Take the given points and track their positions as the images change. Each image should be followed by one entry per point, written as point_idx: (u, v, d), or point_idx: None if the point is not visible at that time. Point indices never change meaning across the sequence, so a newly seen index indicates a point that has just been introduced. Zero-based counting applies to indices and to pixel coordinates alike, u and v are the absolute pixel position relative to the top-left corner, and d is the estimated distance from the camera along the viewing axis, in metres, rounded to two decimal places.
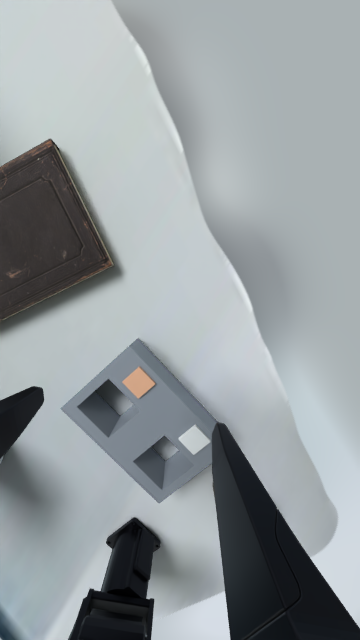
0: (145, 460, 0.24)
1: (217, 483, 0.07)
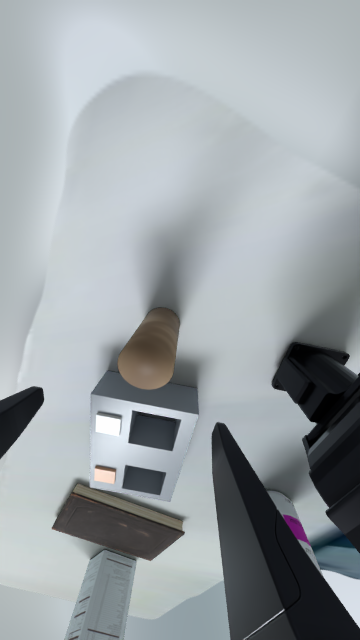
0: (176, 429, 0.22)
1: (217, 483, 0.07)
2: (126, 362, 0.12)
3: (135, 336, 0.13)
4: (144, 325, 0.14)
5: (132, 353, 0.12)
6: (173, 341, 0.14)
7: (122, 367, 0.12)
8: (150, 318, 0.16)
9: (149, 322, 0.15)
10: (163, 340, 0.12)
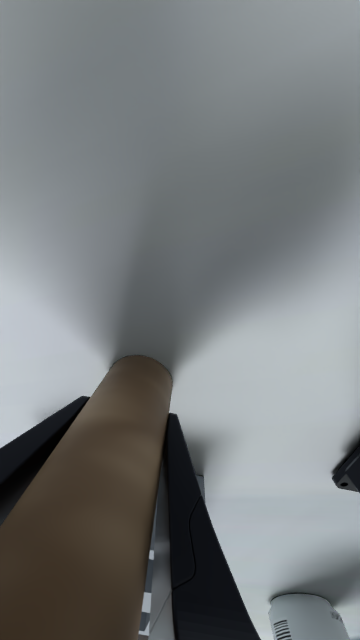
0: None
1: None
2: None
3: (7, 534, 0.04)
4: (71, 442, 0.05)
5: None
6: (144, 503, 0.05)
7: None
8: (100, 402, 0.07)
9: (88, 426, 0.06)
10: (98, 566, 0.03)
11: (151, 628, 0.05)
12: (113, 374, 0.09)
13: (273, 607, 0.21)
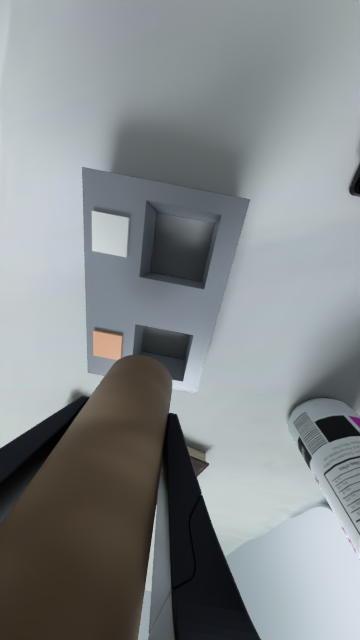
0: (208, 265, 0.15)
1: None
2: None
3: (6, 533, 0.04)
4: (71, 442, 0.05)
5: None
6: (144, 502, 0.05)
7: None
8: (100, 401, 0.07)
9: (88, 425, 0.06)
10: (97, 565, 0.03)
11: (151, 628, 0.05)
12: (113, 373, 0.09)
13: (292, 413, 0.23)
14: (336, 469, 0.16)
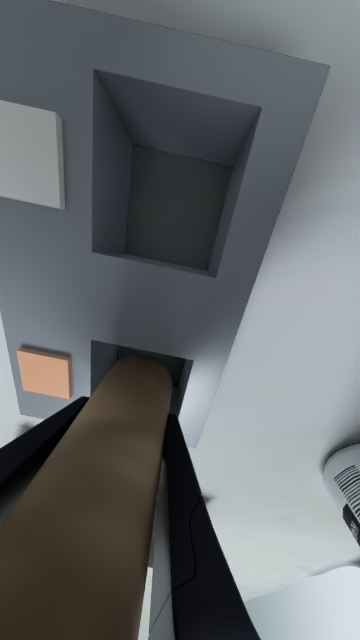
0: (222, 234, 0.08)
1: None
2: None
3: (6, 535, 0.04)
4: (71, 443, 0.05)
5: None
6: (144, 503, 0.05)
7: None
8: (100, 402, 0.07)
9: (88, 426, 0.06)
10: (97, 567, 0.03)
11: (151, 628, 0.05)
12: (113, 374, 0.09)
13: (331, 462, 0.16)
14: None
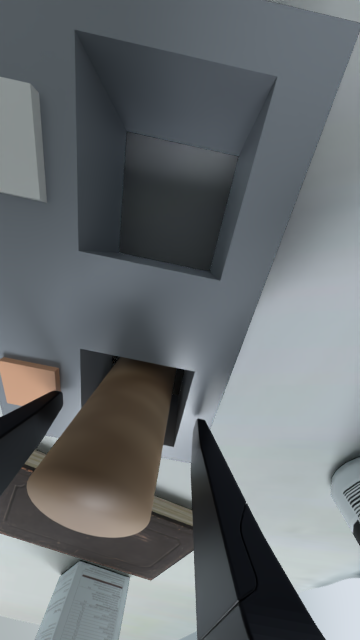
0: (227, 231, 0.07)
1: (193, 479, 0.07)
2: (47, 493, 0.05)
3: (74, 426, 0.06)
4: (106, 386, 0.08)
5: (54, 481, 0.05)
6: (157, 424, 0.07)
7: (39, 501, 0.06)
8: (123, 365, 0.09)
9: (117, 377, 0.08)
10: (131, 442, 0.06)
11: (202, 637, 0.05)
12: None
13: (340, 474, 0.15)
14: None
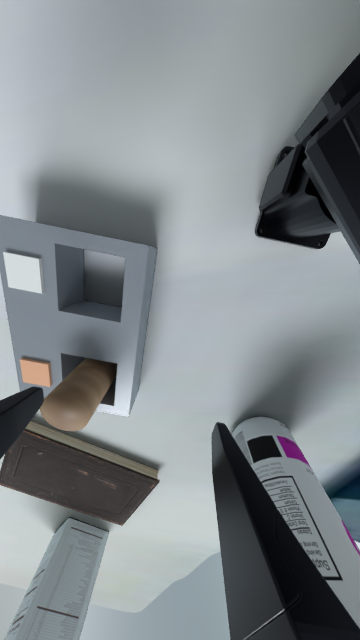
0: None
1: (217, 483, 0.07)
2: (47, 410, 0.14)
3: (58, 385, 0.15)
4: (74, 370, 0.16)
5: (51, 403, 0.14)
6: (97, 386, 0.16)
7: (45, 414, 0.14)
8: (85, 361, 0.18)
9: (80, 366, 0.17)
10: (82, 389, 0.14)
11: None
12: None
13: (233, 431, 0.24)
14: None
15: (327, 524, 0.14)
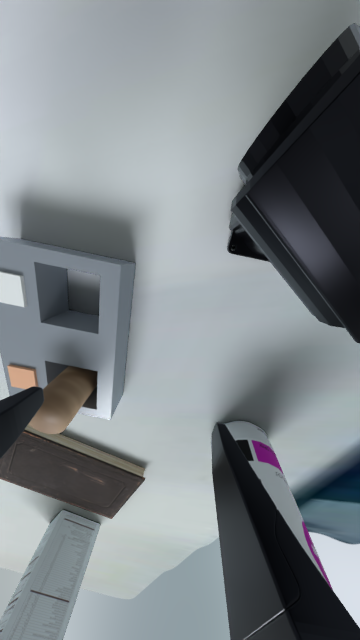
0: None
1: (217, 483, 0.07)
2: None
3: None
4: (57, 377, 0.17)
5: None
6: (77, 392, 0.17)
7: None
8: (69, 367, 0.19)
9: (63, 373, 0.18)
10: (61, 396, 0.15)
11: None
12: None
13: None
14: None
15: None
